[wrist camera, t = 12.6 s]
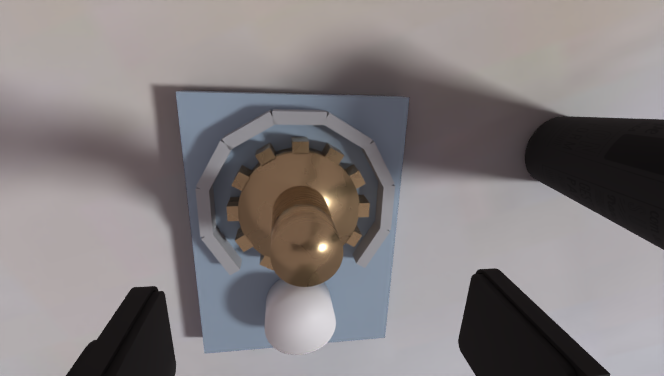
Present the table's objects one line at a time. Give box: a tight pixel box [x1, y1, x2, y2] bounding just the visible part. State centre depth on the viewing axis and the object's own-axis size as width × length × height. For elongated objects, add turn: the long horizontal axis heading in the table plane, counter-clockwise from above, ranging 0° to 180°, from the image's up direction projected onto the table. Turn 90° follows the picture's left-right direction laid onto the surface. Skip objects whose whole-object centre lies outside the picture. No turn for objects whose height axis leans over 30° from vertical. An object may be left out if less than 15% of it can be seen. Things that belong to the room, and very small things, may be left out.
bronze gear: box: [227, 137, 370, 287], centre depth 18 cm, size 8×8×6 cm
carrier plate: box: [176, 91, 409, 355], centre depth 21 cm, size 18×13×4 cm
